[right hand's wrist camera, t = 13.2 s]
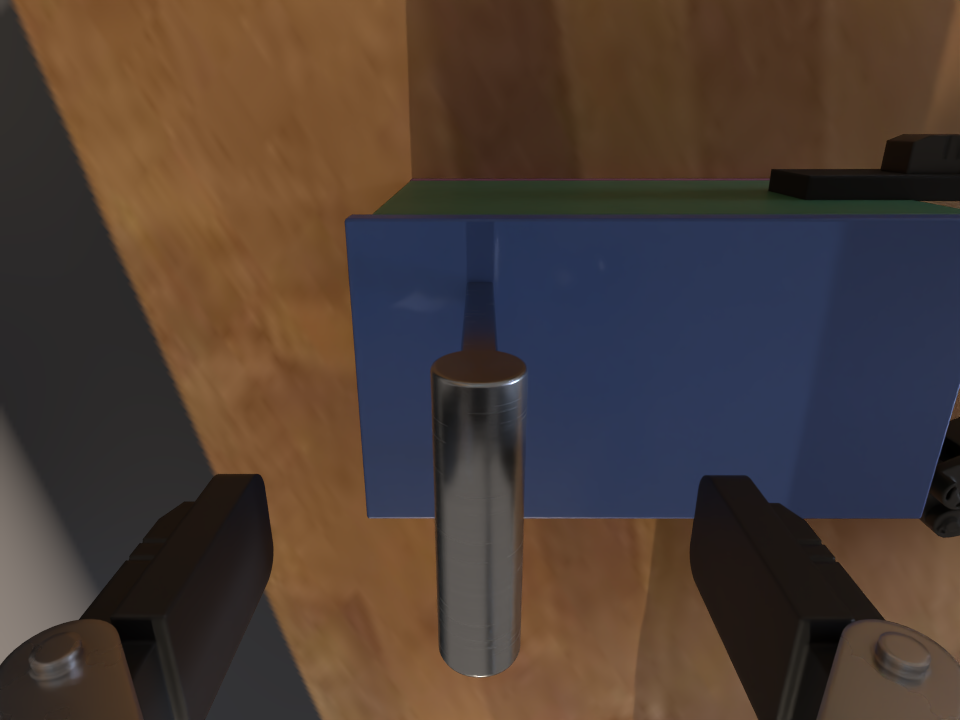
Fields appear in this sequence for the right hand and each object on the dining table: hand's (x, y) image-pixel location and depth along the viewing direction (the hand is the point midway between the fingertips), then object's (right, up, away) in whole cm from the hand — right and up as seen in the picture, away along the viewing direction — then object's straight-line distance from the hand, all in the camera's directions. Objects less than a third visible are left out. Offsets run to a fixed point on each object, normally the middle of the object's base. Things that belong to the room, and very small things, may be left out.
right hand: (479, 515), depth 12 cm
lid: (+5, +3, +7) cm, 9 cm away
